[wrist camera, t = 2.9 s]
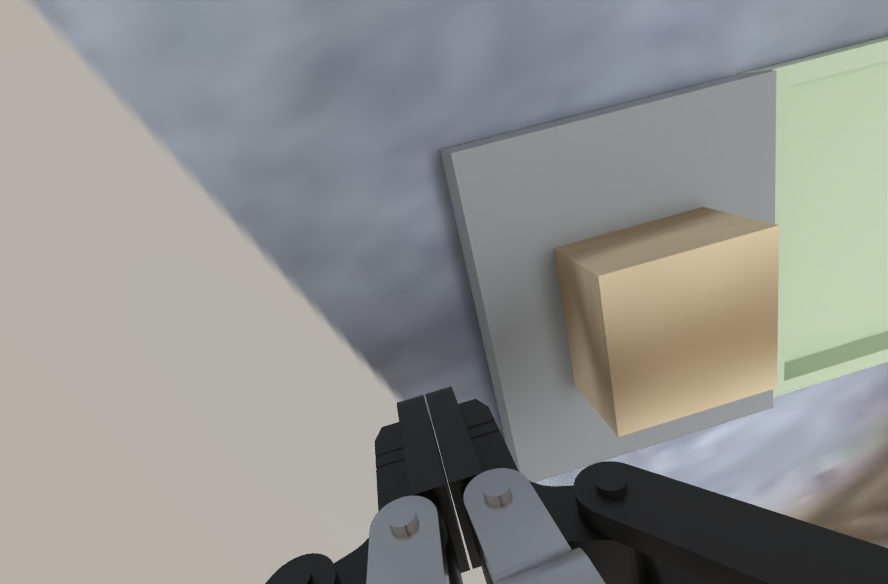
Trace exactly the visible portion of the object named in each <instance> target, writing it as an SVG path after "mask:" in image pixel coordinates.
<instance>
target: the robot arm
mask: <svg viewBox="0 0 888 584" xmlns="http://www.w3.org/2000/svg"><path fill="white" fill-rule="evenodd" d="M426 398H427V402H428V406H429V410H430V414H431V418H432V422H433V426H434V429H435V433H436V437H437V441H438V445H439V448H438V445H437V441H436V438H435V434H434V431H433V427H432V424H431V420H430V417H429V413H428V410H427V406H426V403H425V399H424V396H423V395H421V396H418V397H415V398H411V399H408V400H405V401H401V402H398V403H397V409H398V416H399V422H398V423H394V424H392V425H388V426H384V427H382V428H381V430H380V432H379V434H378V436H377V438H376V440H375V455H376V468H377V470H376V473H377V491H378V509H379V512H378V513H377V514H376V516H375V517H374V519H373V521H372V523H371V526H370V533H369V538H368V539H367V540H366V541H365V542H364V543H363V544H362V545H361V546H360V547H359V548H358V549H356V550H355V551H353V552H352V553H350V554H348V555H347V556H345V557H344V558H342V559H340V560H339V561H337V562H335V563H334V564H333V562H332V561H331V559H329V558H328V557H327V556H324V555H322V554H314V553H312V554H306V555H302V556H299V557H297V558H295V559H293V560H291V561H289V562H288V563H286V564H285V565H283V566H282V567H281V568H280V569H278V570H277V571H276V572H275V573H274V574H273V575H272V577H271V578H270V579H269V580H268V581H267V582H266V584H463V582H462V577H461V573H462V572H465V571H468V570H470V568H469V564H468V561H467V557H466V552H465V548H464V545H463V541H462V537H461V533H460V529H459V525H458V521H457V518H456V513H455V510H454V506H453V502H452V498H451V494H452V497H453V501H454V504H455V508H456V511H457V515H458V518H459V522H460V525H461V529H462V532H463V536H464V539H465V543H466V546H467V550H468V553H469V557H470V560H471V563H472V567H473V569H474V568H477V567H480V566H482V569H483V573H484V576H485V579H486V582H487V584H888V548H885V547H882V546H879V545H876V544H873V543H869V542H866V541H863V540H860V539H857V538H854V537H851V536H848V535H845V534H842V533H838V532H835V531H832V530H829V529H826V528H823V527H820V526H817V525H814V524H811V523H807V522H804V521H801V520H798V519H795V518H792V517H789V516H786V515H783V514H780V513H776V512H773V511H770V510H767V509H764V508H761V507H758V506H755V505H752V504H749V503H746V502H742V501H739V500H736V499H733V498H730V497H727V496H724V495H721V494H718V493H715V492H711V491H708V490H705V489H702V488H699V487H696V486H693V485H690V484H687V483H684V482H680V481H677V480H674V479H671V478H668V477H665V476H662V475H659V474H656V473H653V472H649V471H646V470H643V469H640V468H637V467H634V466H631V465H628V464H624V463H620V462H600V463H595V464H593V465H590V466H588V467H586V468H585V469H583V470H582V471H581V472H580V473H579V474H578V475H577V477H576V479H575V482H574V486H558V487H553V486H543V485H539V484H536V483H533V482H531V481H529V480H528V479H527V477H526V476H524V475H523V474H522V473H520V472H519V470H518V468H517V466H516V464H515V462H514V460H513V458H512V456H511V454H510V451H509V449H508V447H507V445H506V443H505V441H504V439H503V437H502V435H501V433H500V431H499V428H498V426H497V424H496V422H495V420H494V418H493V416H492V414H491V411H490V409H489V407H487V406H486V405H484V404H483V403H481V402H480V401H478V400H477V399H474V400H471V401H467V402H464V403H461V404H458V403H457V400H456V397H455V395H454V392H453V389H452V387H448V388H445V389H441V390H438V391H435V392H431V393H428V394H426ZM439 449H440V452H439ZM440 453H441V455H440ZM441 456H442V459H441ZM442 460H443V463H442ZM443 464H444V468H445V471H444V468H443ZM445 472H446V474H445ZM446 476H447V478H446ZM447 480H448V482H447ZM448 484H449V486H450V490H449V486H448ZM450 491H451V494H450Z"/></svg>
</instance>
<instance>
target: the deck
mask: <svg viewBox="0 0 888 584" xmlns="http://www.w3.org/2000/svg"><path fill="white" fill-rule="evenodd" d="M440 154H441V158H442V162H443V167H444V171H445V176H446V180H447V185H448V189H449V194H450V198H451V202H452V207H453V211H454V216H455V220H456V225H457V229H458V234H459V238H460V242H461V247H462V251H463V256H464V260H465V265H466V269H467V274H468V278H469V283H470V287H471V291H472V296H473V300H474V305H475V309H476V314H477V318H478V323H479V327H480V331H481V336H482V340H483V345H484V349H485V354H486V358H487V363H488V367H489V371H490V376H491V380H492V385H493V389H494V394H495V398H496V403H497V407H498V411H499V416H500V420H501V425H502V429H503V434H504V438H505V443H506V445H507V447H508V449H509V451H510V454H511V456H512V458H513V460H514V462H515V464H516V466H517V468H518V470H519V472H520V473H522V474H523V475H524V476H526V477H527V479H528V480H529V481H531V482H533V483H534V482H537V481H540V480H544V479H547V478H550V477H553V476H556V475H559V474H563V473H566V472H569V471H572V470H575V469H579V468H582V467H585V466H588V465H591V464H595V463H598V462H601V461H604V460H607V459H610V458H614V457H617V456H620V455H623V454H626V453H630V452H633V451H636V450H639V449H642V448H646V447H649V446H652V445H655V444H658V443H661V442H665V441H668V440H671V439H674V438H677V437H681V436H684V435H687V434H690V433H693V432H696V431H700V430H703V429H706V428H709V427H712V426H716V425H719V424H722V423H725V422H728V421H732V420H735V419H738V418H741V417H744V416H747V415H751V414H754V413H757V412H760V411H763V410H767V409H770V408H773V389H772V390H768V391H765V392H762V393H759V394H756V395H752V396H749V397H746V398H743V399H740V400H736V401H733V402H730V403H727V404H723V405H720V406H717V407H714V408H711V409H707V410H704V411H701V412H698V413H694V414H691V415H688V416H685V417H682V418H678V419H675V420H672V421H669V422H665V423H662V424H659V425H656V426H653V427H649V428H646V429H643V430H640V431H637V432H633V433H630V434H627V435H624V436H620V437H618V436H617V435H616V434H615V432H614V431H613V430H612V429H611V428H610V426H609V425H608V424H607V423H606V422H605V420H604V419H603V418H602V417H601V416H600V414H599V413H598V412H597V411H596V410H595V408H594V407H593V406H592V405H591V404H590V402H589V401H588V400H587V399H586V398H585V396H584V395H583V394H582V393H581V392H580V390H579V389H578V388H577V387H576V386H575V381H574V374H573V368H572V362H571V355H570V349H569V342H568V336H567V330H566V323H565V317H564V310H563V304H562V297H561V291H560V285H559V278H558V272H557V265H556V259H555V252H554V248H556V247H560V246H563V245H567V244H571V243H574V242H578V241H581V240H585V239H589V238H592V237H596V236H600V235H603V234H607V233H611V232H614V231H618V230H621V229H625V228H629V227H632V226H636V225H640V224H643V223H647V222H650V221H654V220H658V219H661V218H665V217H669V216H672V215H676V214H679V213H683V212H687V211H690V210H694V209H698V208H701V207H706V208H710V209H714V210H718V211H722V212H726V213H731V214H735V215H739V216H743V217H747V218H751V219H756V220H760V221H764V222H768V223H772V224H775V165H776V70H774V71H767V72H759V73H751V74H743V75H735V76H728V77H724V78H720V79H716V80H712V81H708V82H704V83H700V84H697V85H693V86H689V87H685V88H681V89H677V90H673V91H669V92H665V93H661V94H657V95H653V96H649V97H645V98H641V99H638V100H634V101H630V102H626V103H622V104H618V105H614V106H610V107H606V108H602V109H598V110H594V111H590V112H586V113H582V114H578V115H575V116H571V117H567V118H563V119H559V120H555V121H551V122H547V123H543V124H539V125H535V126H531V127H527V128H523V129H519V130H515V131H512V132H508V133H504V134H500V135H496V136H492V137H488V138H484V139H480V140H476V141H472V142H468V143H464V144H460V145H456V146H453V147H449V148H445V149H441V150H440Z"/></svg>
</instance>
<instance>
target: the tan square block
mask: <svg viewBox="0 0 888 584" xmlns="http://www.w3.org/2000/svg"><path fill="white" fill-rule="evenodd" d="M554 252H555V259H556V265H557V272H558V278H559V285H560V291H561V297H562V304H563V310H564V317H565V323H566V330H567V336H568V342H569V349H570V355H571V362H572V368H573V374H574V381H575V386H576V387H577V388H578V389H579V390H580V392H581V393H582V394H583V395H584V396H585V398H586V399H587V400H588V401H589V402H590V404H591V405H592V406H593V407H594V408H595V410H596V411H597V412H598V413H599V414H600V416H601V417H602V418H603V419H604V420H605V422H606V423H607V424H608V425H609V426H610V428H611V429H612V430H613V431H614V432H615V434H616V435H617V436H618V437H620V436H624V435H627V434H630V433H633V432H637V431H640V430H643V429H646V428H649V427H653V426H656V425H659V424H662V423H665V422H669V421H672V420H675V419H678V418H682V417H685V416H688V415H691V414H694V413H698V412H701V411H704V410H707V409H711V408H714V407H717V406H720V405H723V404H727V403H730V402H733V401H736V400H740V399H743V398H746V397H749V396H752V395H756V394H759V393H762V392H765V391H768V390H772V389H775V388H777V351H778V276H779V225H776V224H772V223H768V222H764V221H760V220H756V219H751V218H747V217H743V216H739V215H735V214H731V213H726V212H722V211H718V210H714V209H710V208H706V207H701V208H698V209H694V210H690V211H687V212H683V213H679V214H676V215H672V216H669V217H665V218H661V219H658V220H654V221H650V222H647V223H643V224H640V225H636V226H632V227H629V228H625V229H621V230H618V231H614V232H611V233H607V234H603V235H600V236H596V237H592V238H589V239H585V240H581V241H578V242H574V243H571V244H567V245H563V246H560V247H556V248H554Z"/></svg>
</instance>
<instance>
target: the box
mask: <svg viewBox="0 0 888 584" xmlns="http://www.w3.org/2000/svg"><path fill="white" fill-rule="evenodd" d="M774 70H776V165H775V224H776V225H779V276H778V351H777V388H775V389H773V397H776V396H779V395H782V394H786V393H789V392H792V391H795V390H798V389H802V388H805V387H808V386H811V385H814V384H818V383H821V382H824V381H827V380H830V379H834V378H837V377H840V376H843V375H846V374H850V373H853V372H856V371H859V370H863V369H866V368H869V367H872V366H875V365H879V364H882V363H885V362H888V36H885V37H882V38H878V39H874V40H870V41H866V42H862V43H858V44H854V45H850V46H846V47H842V48H838V49H834V50H830V51H826V52H822V53H819V54H815V55H811V56H807V57H803V58H799V59H795V60H791V61H787V62H783V63H779V64H775V65H771V66H767V67H763V68H760V69H756V70H752V71H748V72H744V73H740V74H737V75H743V74H751V73H759V72H767V71H774Z"/></svg>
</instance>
